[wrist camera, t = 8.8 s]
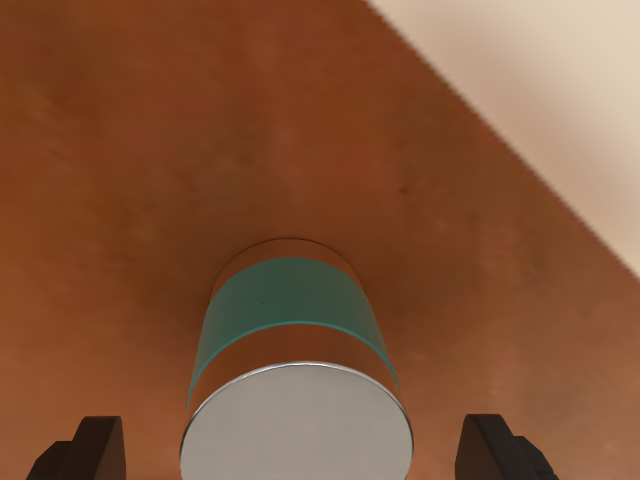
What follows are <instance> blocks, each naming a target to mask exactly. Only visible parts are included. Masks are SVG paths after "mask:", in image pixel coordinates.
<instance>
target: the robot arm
mask: <svg viewBox="0 0 640 480" xmlns="http://www.w3.org/2000/svg"><path fill="white" fill-rule="evenodd" d="M455 479H456V480H559V479H558V477H557V476H556V475H554V473H553V469H552V468H551V466H550V465H549V463H548V461H547V460H546V458H545V457H544V455H543V454H542V452H541V451H540V450H539V449H537V448H536V447H535V446H534V445H533V444H532V443H530V442H529V441H528V440H527V439H526V438H525V437H523V436H513V434H512V433H511V431H510V429H509V427H508V426H507V424H506V422H505V421H504V419H503V418H502V416H501V415H499V414H467V415H466V417H465V419H464V423H463V427H462V432H461V437H460V442H459V447H458V452H457V456H456V461H455ZM26 480H126V462H125V451H124V440H123V429H122V420H121V417H120V416H86V417H84V418H83V419H82V421H81V423H80V425H79V427H78V429H77V431H76V434H75V436H74V438H73V440H72V441H56V442H55V443H54V444H53V445H52V446H50V447H49V448H48V449H47V450H46V451H45V452H44V453H43V454H42V455H41V456H40V457H39V458H38V459H37V460H36V461H35V463H34V465H33V467H32V469H31V471H30V473H29V475H28V477H27V479H26Z"/></svg>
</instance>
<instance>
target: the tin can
mask: <svg viewBox="0 0 640 480" xmlns="http://www.w3.org/2000/svg"><path fill="white" fill-rule="evenodd" d="M413 450H414V438H413V431H412V427H411V423H410V419H409V417H408V414H407V411H406V408H405V405H404V402H403V400H402V397H401V394H400V387H399V384H398V380H397V377H396V374H395V371H394V368H393V365H392V363H391V360H390V357H389V354H388V351H387V349H386V346H385V343H384V340H383V338H382V335H381V332H380V329H379V326H378V324H377V321H376V318H375V315H374V312H373V310H372V307H371V305H370V302H369V300H368V298H367V297H366V295H365V292H364V289H363V286H362V284H361V282H360V279H359V277H358V275H357V274H356V272H355V271H354V269H353V268H352V267H351V266H350V264H349V263H348V262H347V261H346V260H345V259H344V258H342V257H341V256H340V255H339V254H337V253H336V252H334V251H333V250H331V249H329V248H327V247H325V246H323V245H320V244H317V243H314V242H311V241H306V240H299V239H279V240H273V241H268V242H265V243H261V244H258V245H256V246H253V247H251V248H249V249H247V250H246V251H244V252H242V253H240V254H239V255H238V256H237V257H235V258H234V259H233V260H232V261H231V262H230V263H229V264H228V265H227V266H226V267H225V268H224V269H223V270H222V272H221V273H220V274H219V276H218V278H217V280H216V282H215V283H214V286H213V289H212V291H211V295H210V300H209V305H208V308H207V311H206V314H205V317H204V321H203V326H202V331H201V336H200V341H199V345H198V350H197V355H196V360H195V365H194V370H193V374H192V379H191V384H190V389H189V394H188V398H187V408H186V419H185V424H184V429H183V434H182V439H181V444H180V450H179V464H180V471H181V475H182V478H183V480H405V479H406V477H407V474H408V472H409V470H410V466H411V462H412V458H413Z"/></svg>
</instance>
